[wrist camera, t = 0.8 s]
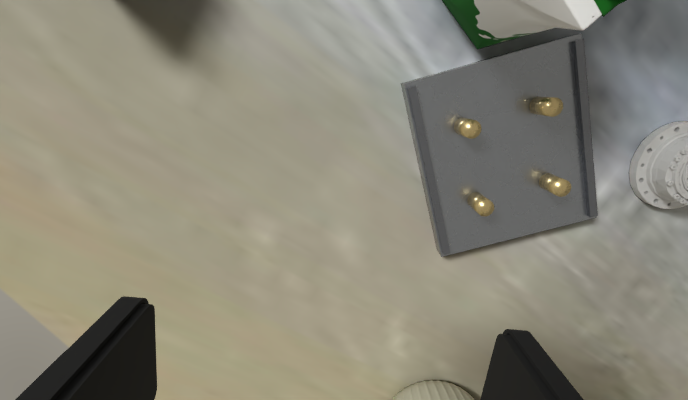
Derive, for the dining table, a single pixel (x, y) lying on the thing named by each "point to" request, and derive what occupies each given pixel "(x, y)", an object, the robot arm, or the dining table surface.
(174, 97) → the dining table surface
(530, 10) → the milk carton
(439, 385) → the canister
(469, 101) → the plate
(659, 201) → the mechanical component
